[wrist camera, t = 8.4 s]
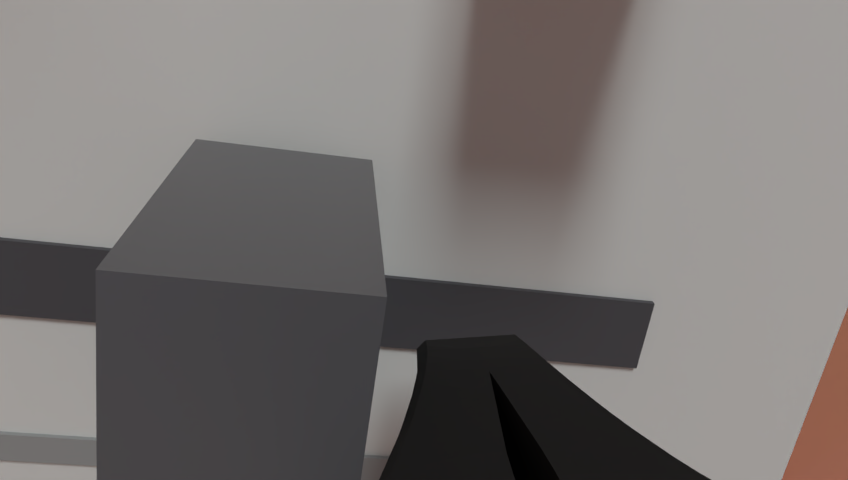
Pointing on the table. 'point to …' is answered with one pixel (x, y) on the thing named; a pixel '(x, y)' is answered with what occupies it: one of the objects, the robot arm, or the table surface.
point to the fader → (242, 321)
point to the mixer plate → (462, 192)
